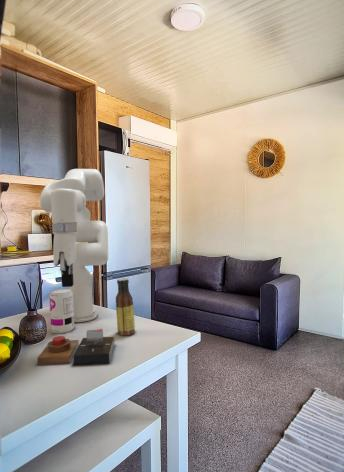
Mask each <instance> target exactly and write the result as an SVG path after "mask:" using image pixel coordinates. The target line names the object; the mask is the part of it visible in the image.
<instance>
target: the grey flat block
mask: <svg viewBox="0 0 344 472" xmlns="http://www.w3.org/2000/svg"><path fill="white" fill-rule="evenodd" d="M103 337H104V330H103V329H102V328H99V329H88V330H87V331H86V338H87V346H103Z"/></svg>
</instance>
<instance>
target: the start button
mask: <svg viewBox="0 0 344 472" xmlns="http://www.w3.org/2000/svg"><path fill="white" fill-rule="evenodd" d="M65 339H66V336H65V335H56V336H54V337H53V338H52V340H53V345H62V344H65Z"/></svg>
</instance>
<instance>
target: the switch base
mask: <svg viewBox="0 0 344 472" xmlns="http://www.w3.org/2000/svg"><path fill="white" fill-rule="evenodd" d="M114 348H115V336H103V346H87V337H83V338H82V339H81V341H80V342H79V346H78V348H77V350H76V352H75V354H74V356H73V366H89V365H93V366H94V365H109V364H110V363H111V359H112V356H113V351H114Z"/></svg>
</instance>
